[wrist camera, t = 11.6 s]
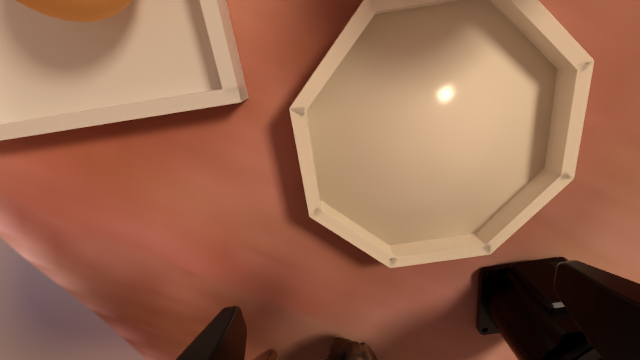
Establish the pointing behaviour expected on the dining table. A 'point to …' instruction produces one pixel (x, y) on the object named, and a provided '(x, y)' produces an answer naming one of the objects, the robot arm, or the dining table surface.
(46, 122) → the tray
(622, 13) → the dining table surface
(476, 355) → the dining table surface
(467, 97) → the bowl
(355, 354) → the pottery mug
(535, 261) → the robot arm
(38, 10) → the ball
